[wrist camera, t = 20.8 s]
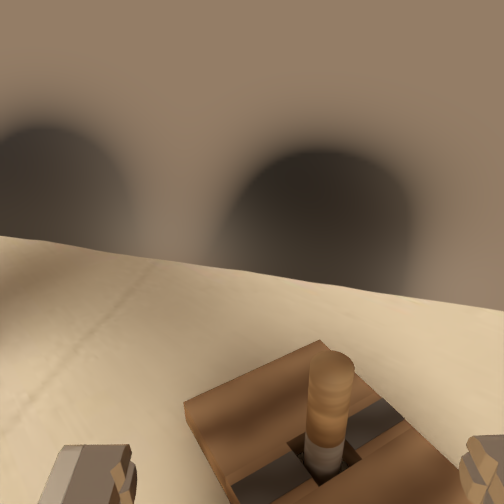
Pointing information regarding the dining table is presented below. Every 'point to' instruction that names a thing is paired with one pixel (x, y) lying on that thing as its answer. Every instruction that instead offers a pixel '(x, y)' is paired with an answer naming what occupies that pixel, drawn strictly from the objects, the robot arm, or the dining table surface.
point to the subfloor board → (293, 443)
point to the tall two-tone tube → (327, 414)
